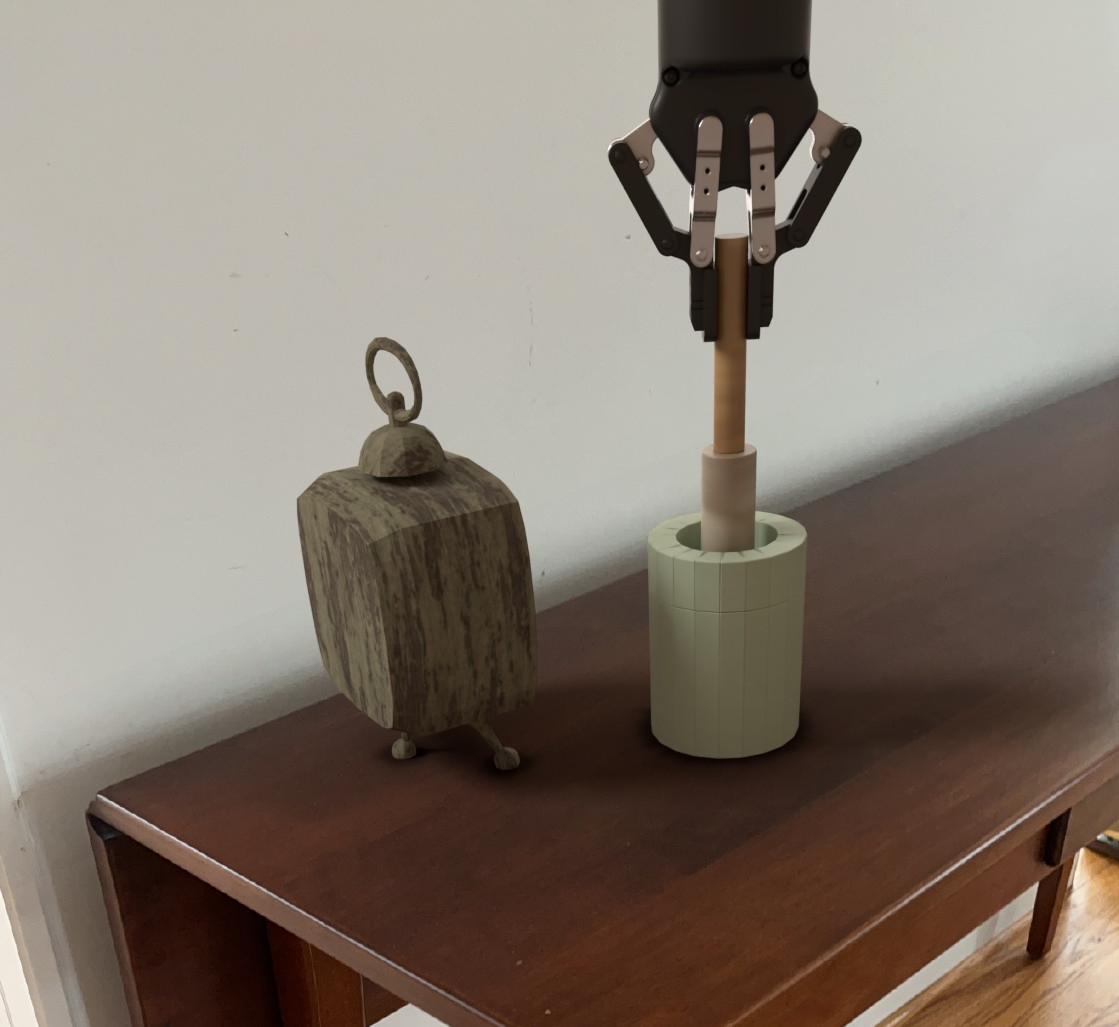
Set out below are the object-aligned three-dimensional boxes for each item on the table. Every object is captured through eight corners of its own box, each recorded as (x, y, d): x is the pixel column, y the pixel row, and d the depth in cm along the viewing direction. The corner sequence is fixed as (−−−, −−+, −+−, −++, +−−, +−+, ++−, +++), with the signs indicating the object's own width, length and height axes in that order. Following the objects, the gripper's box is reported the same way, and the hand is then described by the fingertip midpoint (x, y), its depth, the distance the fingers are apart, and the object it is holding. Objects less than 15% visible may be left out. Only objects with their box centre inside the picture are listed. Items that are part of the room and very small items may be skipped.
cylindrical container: (788, 699, 96) (796, 505, 88) (806, 763, 89) (816, 557, 81) (649, 706, 97) (645, 513, 89) (654, 770, 89) (651, 565, 81)
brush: (751, 541, 87) (759, 229, 77) (756, 560, 84) (765, 238, 74) (699, 544, 87) (699, 232, 77) (702, 562, 84) (703, 242, 74)
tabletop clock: (547, 776, 89) (517, 347, 74) (416, 818, 86) (357, 377, 71) (446, 698, 99) (402, 308, 85) (326, 732, 96) (258, 332, 81)
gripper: (867, -61, 71) (845, 316, 81) (591, -42, 72) (604, 330, 82) (893, -63, 65) (866, 346, 75) (592, -42, 66) (606, 361, 76)
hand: (729, 336), depth 78 cm, fingers closed on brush, 2 cm apart
